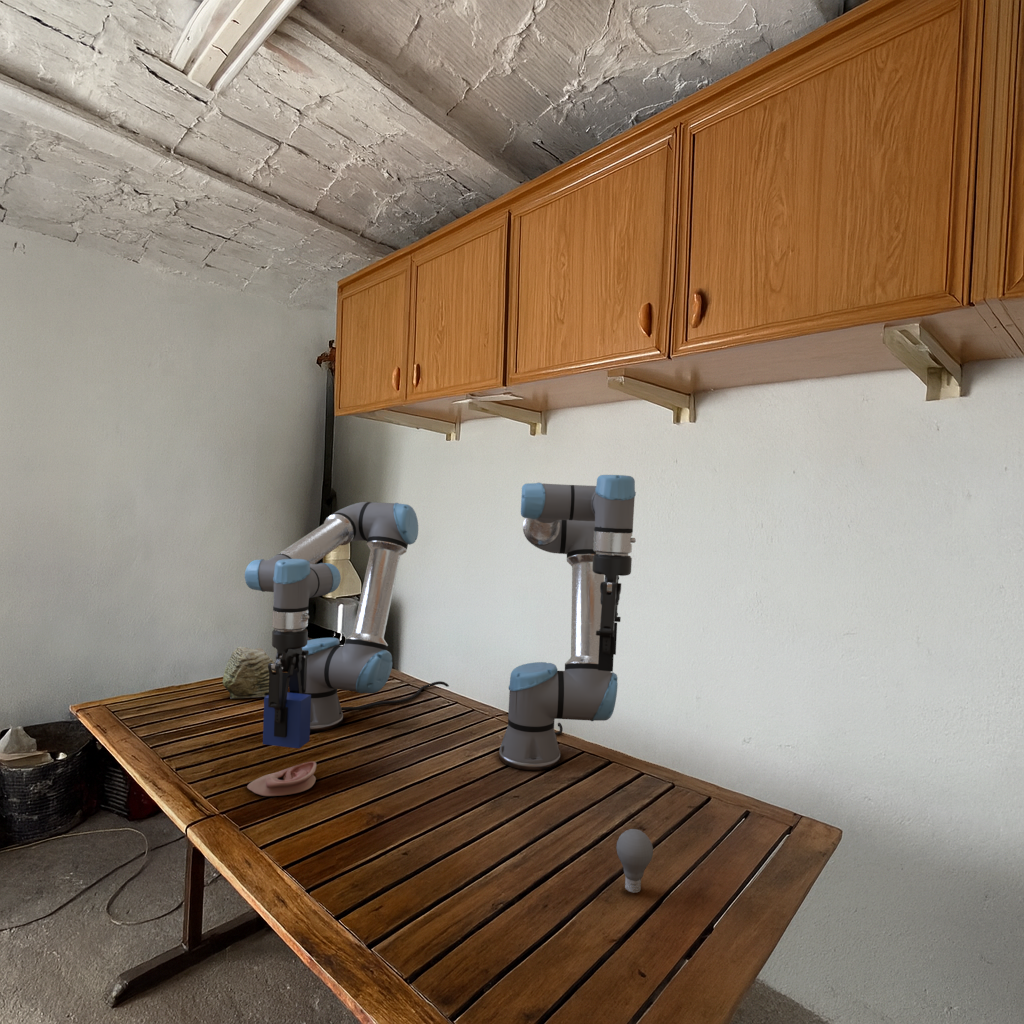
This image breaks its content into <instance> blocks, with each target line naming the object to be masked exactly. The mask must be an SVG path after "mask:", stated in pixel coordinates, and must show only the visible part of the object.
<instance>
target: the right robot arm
mask: <svg viewBox="0 0 1024 1024" xmlns="http://www.w3.org/2000/svg"><path fill="white" fill-rule="evenodd" d="M636 493H637V492H636V480H635V477H633V476H631V475H625V474H600V475H599V476H598V477H597V478H596V485H582V484H561V483H560V484H559V483H558V484H557V483H542V482H532V483H529V482H528V483H524V484H523V485H522V487H521V496H520V497H521V498H520V499H521V500H520V502H521V503H520V515H521V517H522V518H523V519H524V520H523V523H522V531H523V535H524V538H525V539H526V540H527V541H528V543H529V544H531V545H532V546H534V547H535V548H537V549H539V550H541V551H545V552H547V553H550V554H551V553H552V554H560V555H566V562H567V563H568V564H569V565H570V566H571V621H570V622H571V629H570V630H571V631H570V658H569V659H568V660H567V661H566V662H565V663H564V670H558V668H557V665H556V664H555V663H553V662H546V661H536V662H529V663H525V664H524V663H523V664H521V665H518V666H516V667H515V668H513V669H512V671H511V673H510V675H509V676H510V677H509V685H508V690H509V693H508V695H509V696H508V710H507V711H508V712H507V727H506V730H505V733H504V735H503V738H502V740H501V743H500V746H499V751H498V752H499V753H498V758H499V759H500V761H501V762H502V763H503V764H505V765H506V766H507V767H511V768H514V769H517V770H523V771H544V770H549V769H552V768H554V767H556V766H557V765H559V764H560V761H561V750H560V747H559V744H558V739H557V736H560V735H561V734H562V733H563V725H562V723H561V722H558V723H557V727H558V728H559V731H555V720H572V721H590V722H594V721H596V722H597V721H599V722H600V721H601V722H602V721H603V722H604V721H605V722H606V721H608V720H610V719H611V718H612V716H613V714H614V710H615V707H616V702H617V696H618V685H619V684H618V683H619V682H618V674H617V673H615V672H614V655H617V640H618V639H617V638H618V637H617V636H618V623H621V618H622V617H621V616H619V613H618V606H619V604H620V603H619V602H620V599H621V597H620V596H621V593H622V583H621V582H619V581H620V577H624V576H630V575H631V574H632V561H633V558H632V557H631V555H629V554H631V553H632V552H633V544H635V543H636V542H637V541H636V540H637V539H636V538H635V537H633V532H634V514H635V500H636V498H635V497H636V495H637V494H636Z"/></svg>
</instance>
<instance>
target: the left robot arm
mask: <svg viewBox="0 0 1024 1024" xmlns="http://www.w3.org/2000/svg"><path fill="white" fill-rule="evenodd" d="M418 536H419V520H418V517H417V512H416V510H415V509H414V507H412V506H411V505H409V504H407V503H400V502H375V501H373V502H371V501H360V502H356V503H352V504H349V505H348V506H345V507H343V508H340V509H339V510H336V511H335V512H333V513H332V514H329V516H327V517H326V518H325V520H324V521H323V523H322V524H321V525H320V526H318V527H317V528H315V529H313V530H312V531H311V532H309V533H308V534H306V535H304V536H303V537H301V538H300V539H298V540H296V541H295V542H294V543H292V544H291V545H289V546H288V547H286V548H284V549H283V550H282V551H280V552H278V553H276V554H275V555H274V556H272V557H271V558H269V559H264V558H263V559H254V560H252V561H250V562H249V564H247V566H246V568H245V570H244V580H245V581H244V582H245V585H246V586H247V587H248V588H249V589H251V590H253V591H259V592H263V593H265V592H266V593H267V592H269V593H273V605H272V622H271V624H272V625H271V627H272V629H273V630H272V631H271V646H272V647H273V648H274V649H276V655H275V660H274V663H269V664H268V670H269V699H268V707H270V708H274V709H275V717H274V736H276V737H287V719H288V707H285V706H286V700H287V694H288V692H289V693H299V694H309V695H311V713H310V733H316V732H325V731H329V730H332V729H335V728H337V727H339V726H340V725H342V723H343V722H344V714H343V711H360V710H365V709H369V708H372V707H377V706H383V705H392V704H400V703H401V704H402V703H405V702H408V701H411V700H413V699H414V698H416V697H417V696H419V695H420V694H421V693H422V691H423V690H425V689H428V688H431V687H433V686H437V685H443V686H445V687H446V688H447V687H450V685H449V684H448V683H447V682H445V681H442V680H441V681H434V682H431V683H428V684H425V685H423V686H421V687H419V688H418V690H417V691H416V692H415V693H413V694H412V695H410V696H408V697H405V698H402V699H394V700H383V701H376V702H372V703H368V704H365V705H360V706H341V702H340V699H339V695H338V690H339V691H340V690H341V691H347V692H354V693H357V694H358V693H359V694H376V693H378V692H380V691H381V690H382V689H383V688H384V687H385V685H386V684H387V682H388V681H389V678H390V675H391V673H392V669H393V655H392V653H391V652H390V651H388V646H389V644H388V643H387V642H386V640H385V633H386V629H387V624H388V619H389V613H390V609H391V604H392V599H393V594H394V589H395V584H396V578H397V575H398V570H399V564H400V560H401V557H402V556H403V555H404V554H406V553H407V551H408V546H409V545H413V544H415V543H416V541H417V539H418ZM358 541H359V542H361V541H363V542H365V541H366V546H367V547H368V549H369V550H370V552H369V557H368V561H367V566H366V570H365V574H364V579H363V583H362V589H361V593H360V598H359V602H358V607H357V611H356V616H355V620H354V625H353V629H352V633H351V634H350V635H348V636H347V637H346V638H345V640H344V644H343V645H340V644H341V643H340V642H341V641H340V639H339V638H337V637H320V638H319V637H318V638H313V639H309V636H308V635H309V634H308V633H309V632H308V629H307V627H308V625H309V619H310V615H309V601H310V599H313V598H316V597H321V596H326V595H328V594H331V593H334V592H335V591H336V590H337V589H338V588H339V587H340V584H341V580H342V579H341V572H340V570H339V569H338V567H337V566H336V565H334V564H332V563H329V562H320V563H318V562H319V561H320V560H322V559H323V558H325V557H326V556H328V555H329V554H330V553H331V552H333V551H334V550H336V549H337V548H339V547H340V546H346V545H348V544H350V543H351V542H358ZM429 685H430V686H429Z"/></svg>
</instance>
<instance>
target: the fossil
mask: <svg viewBox="0 0 1024 1024" xmlns="http://www.w3.org/2000/svg"><path fill="white" fill-rule="evenodd" d="M274 662H275V660H273V659H272V658H271V657H270V656H269V655H268V654H267V653H266V652H265V650H264V649H263V648H260V647H258V648H251V647H247V646H246V647H245V646H238V647H237V648H236V649H235V650H233V651H232V653H231V656H230V657H229V659H228V660H227V663H226V666H225V668H224V671H223V675H222V676H223V677H222V685H223V687H224V688H225V690H226V691H228V693H229V698H230V699H250V698H264V697H266V696H268V695H269V670H268V664H269V663H274Z"/></svg>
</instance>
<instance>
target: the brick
mask: <svg viewBox="0 0 1024 1024" xmlns="http://www.w3.org/2000/svg"><path fill="white" fill-rule="evenodd" d="M268 699H269V695H268V696H265V697H263V721H262V722H263V724H262V725H263V728H262V733H263V734H262V745H265V746H275V747H282V748H283V747H284V748H291V749H301V748H302V747H303V746H304V745H306V744H307V743H309V742H310V741H311V740H310V739H311V732H310V713H311V695H309V694H299V693H290V692H289V691H288V694H287V700H286V706H285V707H288V719H287V737H276V736H274V717H275V709H274V708H270V707H268Z"/></svg>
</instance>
